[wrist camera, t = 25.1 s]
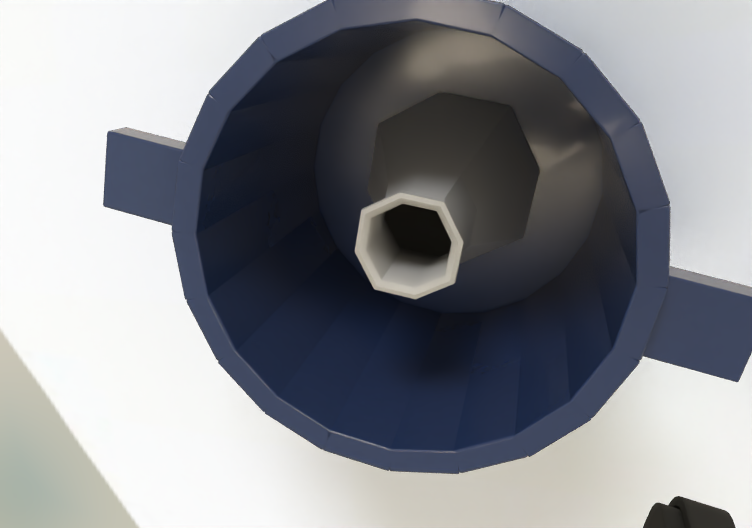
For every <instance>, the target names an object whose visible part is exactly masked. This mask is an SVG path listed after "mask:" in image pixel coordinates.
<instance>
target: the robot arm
mask: <svg viewBox="0 0 752 528" xmlns="http://www.w3.org/2000/svg"><path fill="white" fill-rule="evenodd" d="M643 528H735V525H734V522H733V519H732V517H731V516H730V514H729V513H728V512H727V511H725V510H722V509H719V508H715V507H712V506H709V505H706V504H703V503H699V502H696V501H693V500H690V499H686V498H683V497H680V496H677V497H674V499H673V500H672V501H671V502H670V504H669V505H665V504H661V503H655V504H654V506H653V507H652V509H651V510H650V512H649V515H648V517H647V519H646V522H645V524H644V526H643Z"/></svg>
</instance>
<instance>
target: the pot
mask: <svg viewBox="0 0 752 528" xmlns="http://www.w3.org/2000/svg"><path fill="white" fill-rule="evenodd" d="M438 93H446V94H451V95H456V96H461V97H467V98H472V99H477V100H482V101H488V102H493V103H498V104H503V105H509V106H511V108H512V110H513V113H514V115H515V117H516V119H517V121H518V124H519V126H520V128H521V130H522V132H523V135H524V137H525V139H526V141H527V144H528V146H529V148H530V150H531V152H532V155H533V157H534V159H535V161H536V164H537V166H538V168H539V170H540V172H539V176H538V180H537V184H536V188H535V192H534V197H533V201H532V205H531V209H530V213H529V217H528V221H527V225H526V229H525V233H524V237H523V238H521V239H519V240H516V241H514V242H511V243H509V244H507V245H504V246H502V247H499V248H497V249H494V250H492V251H490V252H487V253H485V254H482V255H480V256H477V257H475V258H473V259H470V260H468V261H465V262H463V263H460V264H459V269H458V273H457V278H456V282H455V283H454V284H452V285H450V286H447V287H445V288H442V289H440V290H437V291H435V292H432V293H430V294H427V295H425V296H422V297H420V298H417V299H412V298H408V297H404V296H400V295H396V294H392V293H388V292H384V291H379V290H375V289H374V288H373V286H372V284H371V282H370V280H369V278H368V276H367V275H366V273H365V271H364V269H363V267H362V265H361V263H360V261H359V259H358V257H357V255H356V253H355V247H356V240H357V234H358V228H359V221H360V215H361V210H362V209H363V208H365V207H367V206H369V205H371V204H373V203H374V202H373V200H372V198H371V196H370V194H369V192H368V184H369V178H370V172H371V166H372V160H373V153H374V147H375V141H376V135H377V129H378V124H379V123H381V122H383V121H385V120H387V119H389V118H391V117H393V116H395V115H397V114H399V113H401V112H403V111H404V110H406V109H408V108H410V107H412V106H414V105H416V104H418V103H420V102H422V101H424V100H426V99H428V98H430V97H432V96H434V95H436V94H438ZM669 204H670V201H669V198H668V196H667V193H666V190H665V187H664V184H663V181H662V178H661V175H660V173H659V170H658V167H657V164H656V161H655V158H654V155H653V153H652V150H651V147H650V144H649V141H648V138H647V135H646V133H645V130H644V127H643V124H642V123H641V122H640V119H639V118H638V117H637V115H636V114H635V113H634V112H633V110H632V109H631V108H630V107H629V105H628V104H627V103H626V102H625V101H624V99H623V98H622V97H621V96H620V94H619V93H618V92H617V91H616V89H615V88H614V87H613V86H612V85H611V83H610V82H609V81H608V80H607V78H606V77H605V76H604V75H603V74H602V72H601V71H600V70H599V69H598V67H597V66H596V65H595V64H594V62H593V61H592V60H591V59H590V58H589V56H588V55H587V54H586V53H584V52H583V51H582V49H580V48H578V47H577V46H575V45H573V44H572V43H570V42H568V41H567V40H565V39H564V38H562V37H560V36H559V35H557V34H555V33H554V32H552V31H550V30H549V29H547V28H545V27H544V26H542V25H540V24H539V23H537V22H535V21H534V20H532V19H531V18H529V17H527V16H526V15H524V14H522V13H521V12H519V11H517V10H516V9H514V8H512V7H511V6H509V5H505V4H503V3H501V2H496V1H491V0H326V1H324V2H322V3H320V4H318V5H317V6H315V7H313V8H311V9H309V10H307V11H305V12H303V13H301V14H299V15H298V16H296V17H294V18H292V19H290V20H288V21H286V22H284V23H282V24H280V25H279V26H277V27H275V28H273V29H271V30H269V31H267V32H265V33H263V34H262V35H261V36H260V37H258V38H257V39H256V40H255V41H254V42H253V44H252V45H251V46H250V47H249V48H248V49H247V50H246V51H245V52H244V53H243V54H242V56H241V57H240V58H239V59H238V60H237V61H236V62H235V63H234V64H233V65H232V66H231V67H230V69H229V70H228V71H227V72H226V73H225V74H224V75H223V76H222V77H221V78H220V79H219V81H218V82H217V83H216V84H215V85H214V86H213V87H212V88H211V89H210V90H209V94H208V95H207V96H206V98H205V101H204V103H203V105H202V108H201V110H200V112H199V115H198V117H197V119H196V121H195V124H194V126H193V128H192V131H191V133H190V135H189V137H188V140H187V142H182V141H178V140H174V139H170V138H166V137H162V136H158V135H154V134H151V133H147V132H143V131H139V130H135V129H131V128H127V127H125V128H121V129H116V130H111V131H108V133H107V148H106V165H105V183H104V200H103V205H104V206H105V207H108V208H111V209H115V210H118V211H122V212H126V213H129V214H133V215H136V216H140V217H144V218H147V219H151V220H155V221H158V222H162V223H165V224H169V225H172V237H173V242H174V247H175V252H176V257H177V262H178V267H179V272H180V277H181V281H182V286H183V291H184V296H185V299H186V300H187V304H188V305H189V307H190V309H191V311H192V313H193V315H194V317H195V319H196V321H197V323H198V325H199V327H200V329H201V330H202V332H203V334H204V336H205V338H206V340H207V342H208V344H209V346H210V348H211V350H212V352H213V354H214V356H215V357H216V359H217V360H219V361H218V363H219V364H220V365H221V366H222V367H223V368H224V370H225V371H226V372H227V373H228V374H229V375H230V376H231V377H232V378H233V379H234V380H235V381H236V383H237V384H238V385H239V386H240V387H241V388H242V389H243V390H244V391H245V392H246V393H247V395H248V396H249V397H250V398H251V399H252V400H253V401H254V402H255V403H256V404H257V405H258V406H259V408H260V409H261V410H262V411H263V412H265V414H267V415H268V416H270V417H272V418H273V419H275V420H276V421H278V422H279V423H281V424H283V425H284V426H286V427H287V428H289V429H290V430H292V431H293V432H295V433H297V434H298V435H300V436H301V437H303V438H304V439H306V440H308V441H309V442H311V443H312V444H314V445H315V446H317V447H319V448H320V449H323V450H324V451H327V452H331V453H334V454H337V455H340V456H343V457H346V458H349V459H353V460H356V461H359V462H362V463H365V464H368V465H371V466H374V467H378V468H381V469H384V470H387V471H389V470H390V471H399V472H424V473H448V474H459V472H460V473H464V472H468V471H472V470H476V469H480V468H484V467H488V466H493V465H497V464H501V463H505V462H509V461H513V460H517V459H521V458H525V457H527V456H529V457H530V456H532V455H534V454H535V453H537V452H539V451H540V450H542V449H544V448H545V447H547V446H549V445H550V444H552V443H554V442H555V441H557V440H558V439H560V438H562V437H563V436H565V435H567V434H568V433H570V432H572V431H573V430H575V429H577V428H578V427H580V426H582V425H583V424H585V423H587V422H588V421H590V420H591V418H593V417H594V416H595V415H596V413H597V412H598V411H599V410H600V409H601V408H602V406H603V405H604V404H605V403H606V402H607V400H608V399H609V398H610V397H611V396H612V395H613V393H614V392H615V391H616V390H617V389H618V388H619V386H620V385H621V384H622V383H623V382H624V381H625V379H626V378H627V377H628V376H629V375H630V374H631V372H632V371H633V370H634V369H635V368H636V366H637V365H638V364H639V362H640V361H639V360H641V359H642V357H643V356H644V357H648V358H652V359H655V360H659V361H662V362H666V363H670V364H673V365H677V366H681V367H684V368H688V369H691V370H695V371H699V372H702V373H706V374H709V375H713V376H717V377H720V378H724V379H728V380H731V381H735V382H738V381H739V380H740V377H741V375H742V373H743V371H744V368H745V366H746V364H747V362H748V359H749V357H750V355H751V353H752V287H749V286H745V285H741V284H738V283H734V282H730V281H726V280H722V279H718V278H714V277H710V276H706V275H702V274H699V273H695V272H691V271H687V270H683V269H679V268H675V267H671V266H670V205H669Z"/></svg>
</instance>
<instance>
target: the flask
mask: <svg viewBox="0 0 752 528" xmlns="http://www.w3.org/2000/svg"><path fill="white" fill-rule="evenodd" d="M539 172H540V170H539V168H538V166H537V164H536V161H535V159H534V157H533V155H532V152H531V150H530V148H529V146H528V144H527V141H526V139H525V137H524V135H523V132H522V130H521V128H520V126H519V124H518V121H517V119H516V117H515V115H514V113H513V110H512V108H511V106H509V105H503V104H498V103H493V102H488V101H482V100H477V99H472V98H467V97H461V96H456V95H451V94H446V93H438V94H436V95H434V96H432V97H430V98H428V99H426V100H424V101H422V102H420V103H418V104H416V105H414V106H412V107H410V108H408V109H406V110H404V111H403V112H401V113H399V114H397V115H395V116H393V117H391V118H389V119H387V120H385V121H383V122H381V123H379V124H378V129H377V135H376V141H375V147H374V153H373V160H372V166H371V172H370V178H369V184H368V192H369V194H370V196H371V198H372V200H373V202H374V203H373V204H371V205H369V206H367V207H365V208H363V209H362V210H361V215H360V221H359V228H358V234H357V240H356V247H355V253H356V255H357V257H358V259H359V261H360V263H361V265H362V267H363V269H364V271H365V273H366V275H367V276H368V278H369V280H370V282H371V284H372V286H373V288H374V289H375V290H379V291H384V292H388V293H392V294H396V295H400V296H404V297H408V298H412V299H417V298H420V297H422V296H425V295H427V294H430V293H432V292H435V291H437V290H440V289H442V288H445V287H447V286H450V285H452V284H454V283H455V282H456V278H457V273H458V269H459V264H460V263H463V262H465V261H468V260H470V259H473V258H475V257H477V256H480V255H482V254H485V253H487V252H490V251H492V250H494V249H497V248H499V247H502V246H504V245H507V244H509V243H511V242H514V241H516V240H519V239H521V238H523V237H524V233H525V229H526V225H527V221H528V217H529V213H530V209H531V205H532V201H533V197H534V192H535V188H536V184H537V180H538V176H539Z"/></svg>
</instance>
